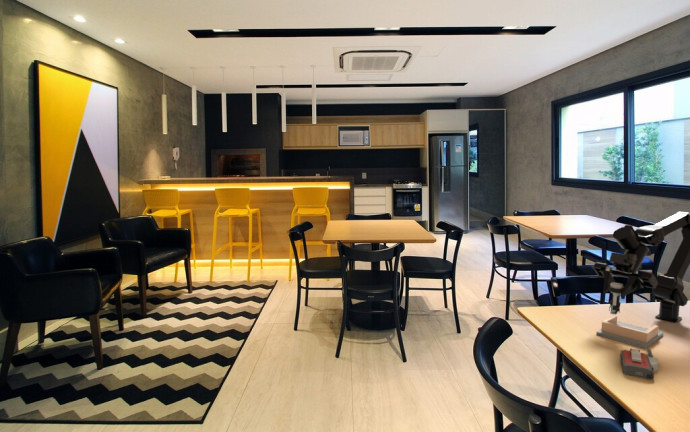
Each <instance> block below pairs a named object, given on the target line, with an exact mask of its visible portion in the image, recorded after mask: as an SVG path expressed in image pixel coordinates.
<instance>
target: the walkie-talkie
mask: <svg viewBox="0 0 690 432" xmlns="http://www.w3.org/2000/svg"><path fill="white" fill-rule="evenodd" d="M646 352H647V354H646V353H643V352H641V351H640V349H637V348H630V349H629V350H626V349H623V350H620V353H619V358H620V359H619V360H620V364H621V369H622V374H624V375H625V376H631V377H637V378H642V379H647V380H650V379H651V380H654V378H655V375H654V372H656V371H657V372H658V370H659V363H658V358H656V357H654V356H653V353H652V352H653V351H652V349H650V348H646Z"/></svg>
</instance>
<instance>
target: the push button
mask: <svg viewBox="0 0 690 432" xmlns="http://www.w3.org/2000/svg"><path fill="white" fill-rule="evenodd" d="M607 287H608V290H609V291H608V292H609V293H611V294H612V297H611V300H609V307H608V312H610V315H612V316H613V315H616V316H617V314H620V313H621V301H620V295H621V292H622V290H623V289H624V287H625V285H624V284H623V283H620V282H616V281H615V282H612V283H611V284H610V285H607Z"/></svg>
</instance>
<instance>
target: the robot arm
mask: <svg viewBox="0 0 690 432" xmlns="http://www.w3.org/2000/svg"><path fill="white" fill-rule="evenodd" d="M679 229H681V230H680V232H681V236H682V240H681V242H680V244H679V246H678V248H677V250H676V252H675V254H674V256H673V258H672V260H671V262H670V264H669V266H668V268H667V270H666V273H664V274H662V275H661V274H658V275H657V276H655V275H654V273H653V272H652V271H645V270H642V268H643V265H642V263H643V262H644V259H645V258H646V256H647V257H648V256H649V257H651V256H652V253H651V251H650V249H649V247H647V246H651V247H657V246H658V245H660V244H661V243H662V242H664V240H665V237H666V236H668V235H670V234H672V233H673V232H676V231H677V230H679ZM612 237H613V238H614V240H615V241H616V242H617V244H618V245H619V246H620V248H621V249H623V250H625V251H624V253H620V252H619V253H618V252H611V254H610V257H609V260H608V261H609V262H610V263H613V264H612V266H613V268H611V267H610V266H609V265H608V263H605V262H603V263H602V262H599V261H597V262H595V263H593V266H592V269H593V271H594V272H595V274H596V275H597V276H598V277H599V278H602V279H603V278H604V279H603V280H604V281H603V294H607V293H608V292H610V291H609V290H608V287H607V285H610V284H611V283H612V282H616V279H614V276H617V277H621V278H625V279H626V278H627V282H626V284H625V285H624V289H623V290H622V292H621V294H619V298H625V297H626V296H627V295H630V294H631V293H633V292H635V291H637V290H639V289H644V287H645V288H648V289H649V288H650V289H651V291H652V292H651V293H652V297H653V300H656V301H659V312H658V314H657V315H655V317H654V318H655V319H659V320H664V321H669V322H673V323H678V322H680V321H681V320H682V319H683V317H682V316H679V315H680V307H685V306H686V305H687V304H688V302H689V298H688V297H687V296H686V294H685V293H684V289H685V286H684V281H683V278H684V276H685V275H686V273H687V270H688V268H689V266H690V212H688V211H687V212H686V211H677V212H675V213H674V214H673V215H670V216H669V217H667V218H665V219H663V220H662V221H660V222H657V223H655V224H653V225H652V224H651V225H644V226H640V227H637V228H636V229H635V228H634V227H633V226H632V225H631V224H624V226H622V227H619V228H617V229H616V230H614V231H613V233H612ZM639 269H640V270H639Z"/></svg>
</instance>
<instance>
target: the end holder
mask: <svg viewBox="0 0 690 432" xmlns="http://www.w3.org/2000/svg"><path fill="white" fill-rule="evenodd" d="M595 333H596V336H601V337H603V338H608V339H610V340H615V341H618V342H622V343H625V344H627V345H632V346H635V347H638V348H643V349H648V347H650V346H651V345H652V344H654V343H655V342H656V341H658V340H659V339H660V338H662V337H663V336H664V332H663V331H659V325H657V324H654V325H652V326H651V327H650V328H647V327H642V326H639V325H636V324H635V325H634V324H630V323H627V322H622V321H618V315H617V314H616V315H615V314H614V315H613V314H612V316H609V317H608V318H606V319H605V320H603V321H601V329H598V330H597V331H596V332H595Z"/></svg>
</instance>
